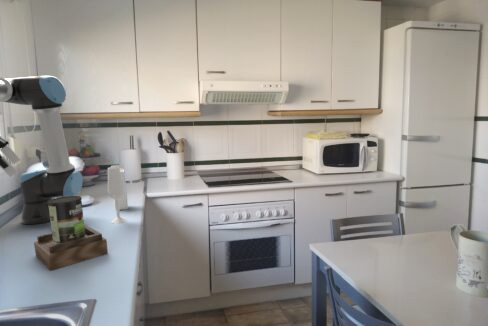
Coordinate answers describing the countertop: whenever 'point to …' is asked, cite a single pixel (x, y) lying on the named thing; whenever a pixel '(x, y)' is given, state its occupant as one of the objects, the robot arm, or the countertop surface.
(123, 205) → the milk
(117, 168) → the champagne flute
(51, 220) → the coffee can
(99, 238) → the display stand
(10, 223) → the countertop surface
